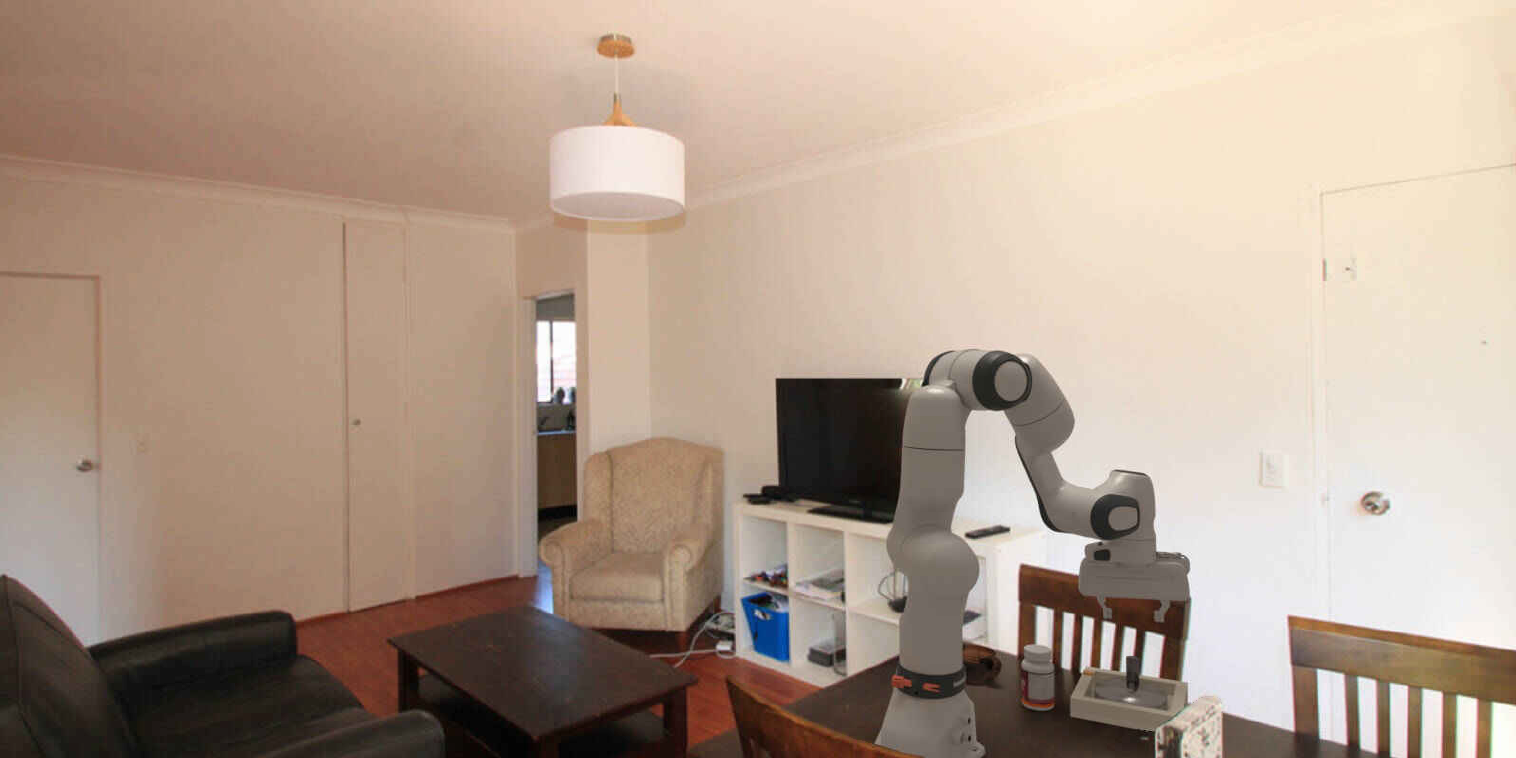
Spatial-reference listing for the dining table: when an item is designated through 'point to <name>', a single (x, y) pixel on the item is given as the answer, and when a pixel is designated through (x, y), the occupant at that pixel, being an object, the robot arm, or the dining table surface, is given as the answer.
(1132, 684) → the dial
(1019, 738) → the dining table surface
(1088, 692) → the tray
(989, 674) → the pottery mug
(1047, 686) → the pill bottle
